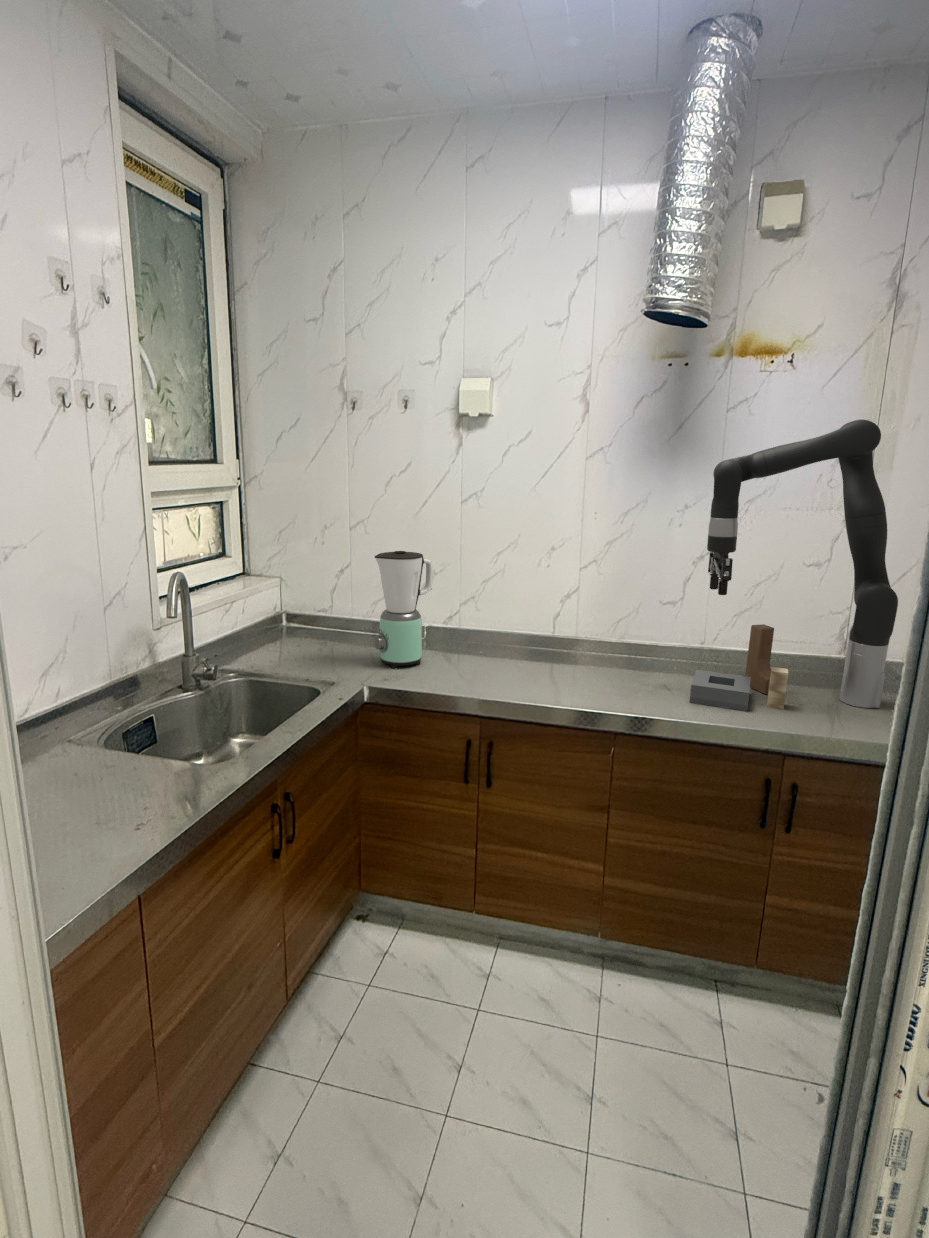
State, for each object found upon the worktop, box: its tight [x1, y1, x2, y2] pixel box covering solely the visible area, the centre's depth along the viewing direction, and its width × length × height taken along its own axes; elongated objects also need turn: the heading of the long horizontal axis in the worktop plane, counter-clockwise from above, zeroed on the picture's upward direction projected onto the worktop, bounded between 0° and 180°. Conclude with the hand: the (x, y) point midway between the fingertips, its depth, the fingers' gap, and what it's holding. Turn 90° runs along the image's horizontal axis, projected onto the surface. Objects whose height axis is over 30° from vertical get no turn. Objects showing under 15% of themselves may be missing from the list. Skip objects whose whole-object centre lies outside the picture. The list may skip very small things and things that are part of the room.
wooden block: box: [744, 623, 775, 695], centre depth 193 cm, size 9×4×18 cm, turn 16°
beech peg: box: [766, 666, 789, 710], centre depth 181 cm, size 4×4×10 cm
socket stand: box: [689, 669, 751, 712], centre depth 187 cm, size 14×14×5 cm
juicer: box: [373, 550, 433, 669], centre depth 210 cm, size 19×13×35 cm
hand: (717, 592), depth 191 cm, fingers open, 8 cm apart
